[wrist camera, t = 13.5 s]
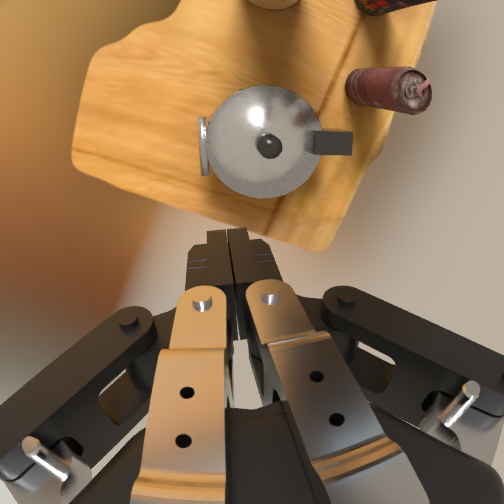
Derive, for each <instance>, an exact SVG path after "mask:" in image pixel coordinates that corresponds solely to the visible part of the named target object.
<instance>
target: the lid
mask: <svg viewBox="0 0 504 504" xmlns="http://www.w3.org/2000/svg"><path fill="white" fill-rule="evenodd" d="M197 123H198V138H199V152H200V165H201V175H202V176H208V175H210V171H209V163H210V165H211V167H212V169H213V171H214V172H215V174H216V175H217V177H218V178H219V179H220V180H221V181H222V182H223V183H224V184H225V185H226V186H227V187H229V188H230V189H232V190H233V191H235V192H237V193H239V194H242V195H244V196H248V197H252V198H259V199H267V198H275V197H279V196H282V195H285V194H288V193H290V192H292V191H294V190H295V189H297V188H298V187H300V186H301V185H302V184H303V183H304V182H306V181H307V179H308V178H309V177H310V176H311V175H312V173H313V172H314V170H315V169H316V167H317V165H318V163H319V160H320V157H321V155H352V142H353V132H351V131H341V130H322V128H321V125H320V122H319V119H318V117H317V115H316V114H315V112H314V110H313V109H312V108H311V106H310V105H309V104H308V103H307V102H306V101H305V100H304V99H303V98H301V97H300V96H299V95H297V94H296V93H294V92H292V91H290V90H287V89H284V88H281V87H277V86H269V85H262V86H254V87H249V88H246V89H243V90H240V91H238V92H236V93H235V94H233V95H231V96H230V97H229V98H227V99H226V100H225V101H224V102H223V103H222V104H221V105H220V106H219V107H218V108H217V110H216V111H215V113H214V114H213V116H212V118H211V120H210V123H209V126H208V129H207V126H206V116H204V117H197Z"/></svg>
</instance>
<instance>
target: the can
mask: <svg viewBox="0 0 504 504" xmlns="http://www.w3.org/2000/svg"><path fill="white" fill-rule="evenodd" d="M346 89H347V93H348V95H349V97H350V98H351V99H352V100H353V101H354V102H355V103H357V104H359V105H363V106H369V107H375V108H381V109H386V110H391V111H396V112H401V113H406V114H410V115H415V114H419V113H421V112H423V111H425V110H426V109H427V108H428V106H429V105H430V102H431V99H432V90H431V85H430V79H429V78H428V77H426V76H425V75H424V74H422V73H421V72H420V71H418V70H417V69H415V68H412V67H380V68H364V69H356V70H354V71H352V72H351V73H350V74H349V76H348V78H347V81H346Z"/></svg>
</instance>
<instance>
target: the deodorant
mask: <svg viewBox="0 0 504 504" xmlns="http://www.w3.org/2000/svg"><path fill="white" fill-rule="evenodd" d="M432 1H436V0H355V2H356V4H357V6H358V7H359V8H360V9H361V10H362V11H363V12H365V13H366V14H368V15H371V16H379V15H382V14H385V13H389V12H392V11H396V10H399V9H403V8H406V7H410V6H414V5H418V4H423V3H427V2H432Z"/></svg>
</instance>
